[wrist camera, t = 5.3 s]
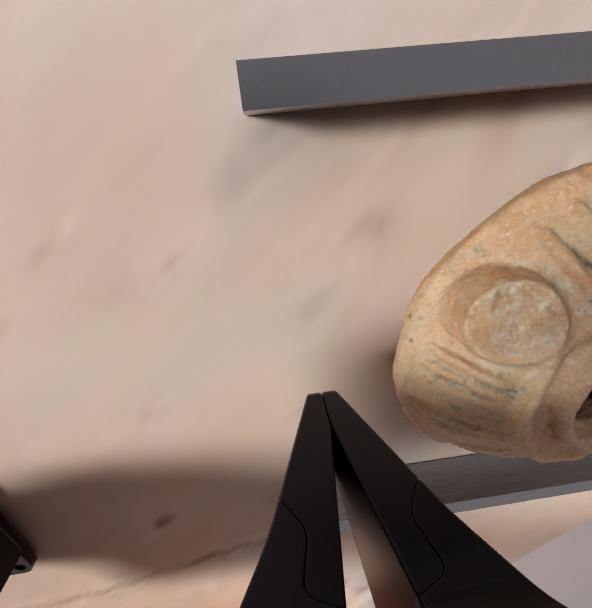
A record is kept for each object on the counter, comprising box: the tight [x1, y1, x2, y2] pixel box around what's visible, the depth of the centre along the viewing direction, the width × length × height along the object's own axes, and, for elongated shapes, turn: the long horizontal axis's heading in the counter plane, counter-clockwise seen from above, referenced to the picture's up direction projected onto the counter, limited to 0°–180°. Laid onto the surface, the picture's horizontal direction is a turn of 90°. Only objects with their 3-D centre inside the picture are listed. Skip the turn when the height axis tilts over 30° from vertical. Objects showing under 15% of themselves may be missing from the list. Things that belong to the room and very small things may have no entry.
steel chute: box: [236, 31, 592, 532], centre depth 11 cm, size 15×17×3 cm
